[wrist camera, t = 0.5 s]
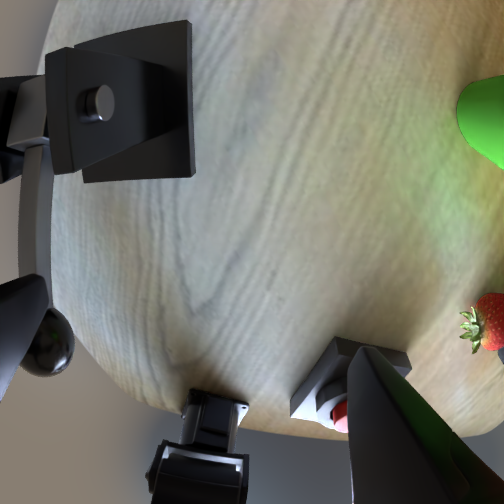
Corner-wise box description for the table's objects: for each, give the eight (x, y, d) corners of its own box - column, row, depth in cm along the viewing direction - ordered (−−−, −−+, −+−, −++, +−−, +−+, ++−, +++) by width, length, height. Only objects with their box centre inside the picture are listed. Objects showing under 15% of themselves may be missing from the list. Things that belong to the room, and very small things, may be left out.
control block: (354, 410, 30) (359, 439, 27) (289, 400, 30) (290, 431, 26) (406, 352, 26) (418, 383, 22) (334, 335, 25) (341, 370, 22)
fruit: (545, 310, 16) (467, 351, 19) (536, 336, 18) (468, 371, 22) (521, 264, 19) (449, 301, 23) (518, 294, 22) (454, 326, 26)
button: (357, 419, 26) (360, 434, 24) (325, 415, 25) (326, 431, 24) (378, 399, 24) (381, 414, 22) (344, 394, 24) (347, 410, 22)
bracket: (195, 173, 20) (124, 249, 10) (92, 178, 20) (-12, 245, 11) (192, 23, 15) (110, -38, 5) (83, 46, 15) (-36, 39, 6)
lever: (91, 368, 11) (53, 396, 8) (43, 356, 12) (3, 377, 9) (98, 92, 11) (61, 62, 8) (48, 104, 11) (9, 83, 8)
